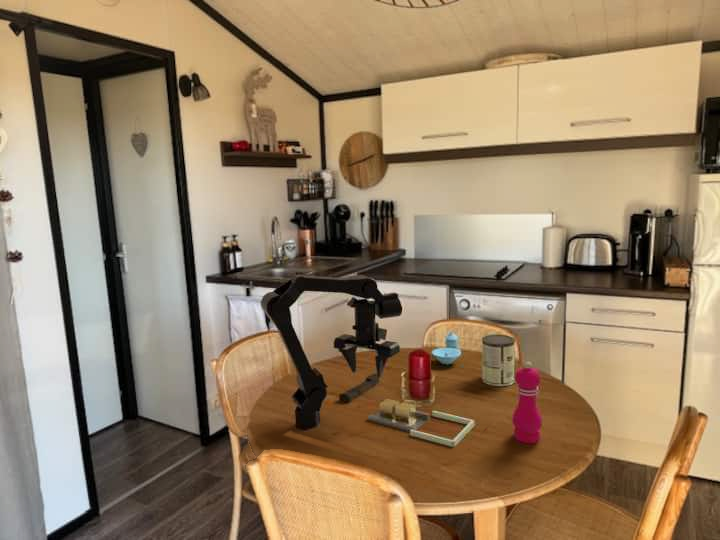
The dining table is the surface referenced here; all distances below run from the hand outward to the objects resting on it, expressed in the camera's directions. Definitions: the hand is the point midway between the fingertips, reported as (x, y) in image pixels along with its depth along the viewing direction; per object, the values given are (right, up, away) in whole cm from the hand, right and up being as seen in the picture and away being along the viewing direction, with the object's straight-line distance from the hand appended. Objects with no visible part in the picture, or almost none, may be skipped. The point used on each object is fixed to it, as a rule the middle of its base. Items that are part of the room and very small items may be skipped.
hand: (366, 374), depth 145 cm
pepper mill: (+40, -13, -14) cm, 45 cm away
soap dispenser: (+31, -4, +43) cm, 53 cm away
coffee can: (+43, -7, +23) cm, 49 cm away
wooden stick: (-2, -10, +16) cm, 19 cm away
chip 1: (+6, -11, -3) cm, 13 cm away
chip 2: (+11, -11, -5) cm, 16 cm away
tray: (+20, -13, -11) cm, 26 cm away
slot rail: (+9, -12, -4) cm, 16 cm away
